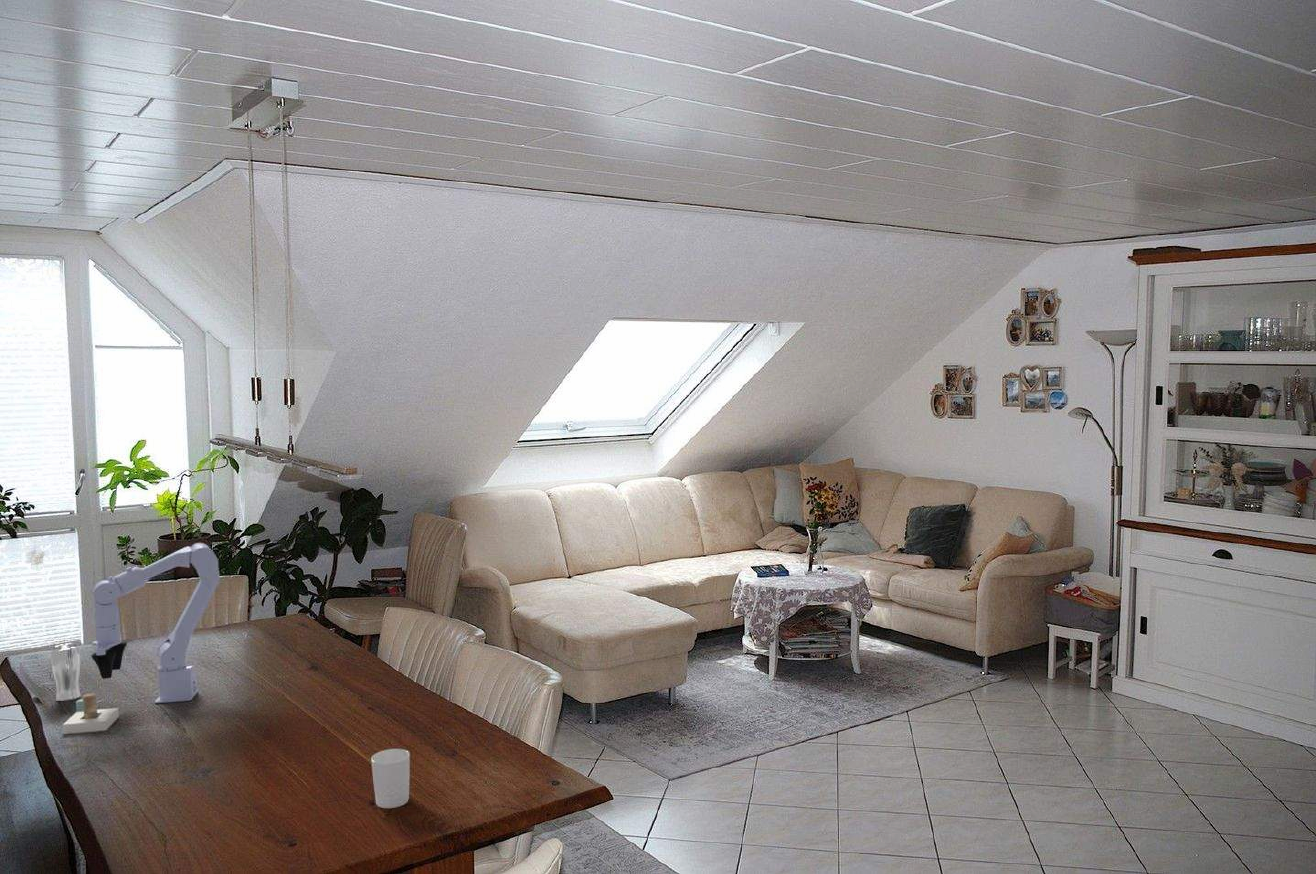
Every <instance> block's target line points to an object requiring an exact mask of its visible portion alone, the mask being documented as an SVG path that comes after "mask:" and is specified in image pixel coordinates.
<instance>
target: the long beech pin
mask: <svg viewBox="0 0 1316 874" xmlns="http://www.w3.org/2000/svg"><path fill="white" fill-rule="evenodd" d="M82 699H83V709H84V719H93V718H97V710H98V708H97V707H98V705H97V694H96V693H87V694H85V695H83V696H82Z"/></svg>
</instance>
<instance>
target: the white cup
mask: <svg viewBox="0 0 1316 874" xmlns="http://www.w3.org/2000/svg"><path fill="white" fill-rule="evenodd" d="M410 754H411V753H410V751H408V750H406V749H404V748H403V749H402V748H388V749H384V750H381V751H378V752H376V753H374V754H373V755H371V758H370V759H371V760H370V761H371V762H370V763H371V771H372V783H373V789H374V797H375V799H374V800H375V804H376V807H379V808H382V809H394V808H399V807H401V806H404V805H405V804H407V803H408V802H409V799H410V774H411V773H410V770H411V767H410V765H411V763H410V762H411V761H410V758H411V757H410V756H411V755H410Z"/></svg>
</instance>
